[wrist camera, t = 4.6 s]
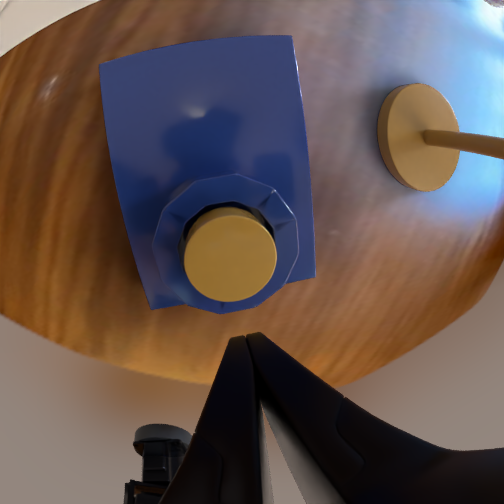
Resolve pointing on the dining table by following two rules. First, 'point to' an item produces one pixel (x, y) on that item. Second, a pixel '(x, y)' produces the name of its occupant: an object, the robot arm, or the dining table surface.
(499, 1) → the paper bowls
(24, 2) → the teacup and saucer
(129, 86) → the switch base
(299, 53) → the dining table surface
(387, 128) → the table lamp
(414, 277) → the dining table surface
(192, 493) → the robot arm
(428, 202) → the dining table surface
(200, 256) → the lamp switch
